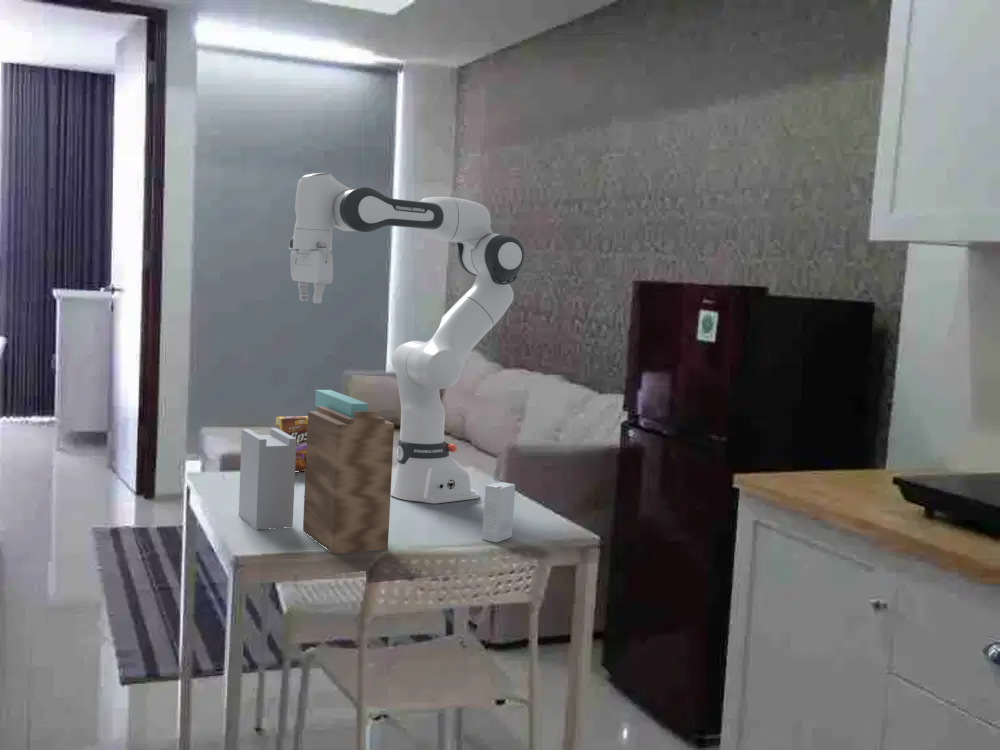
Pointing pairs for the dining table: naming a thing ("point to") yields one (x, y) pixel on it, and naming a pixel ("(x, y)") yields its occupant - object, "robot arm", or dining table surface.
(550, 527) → the dining table surface
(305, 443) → the candy box
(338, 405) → the rail
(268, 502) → the rest block
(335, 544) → the notched wooden block
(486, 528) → the skincare box
